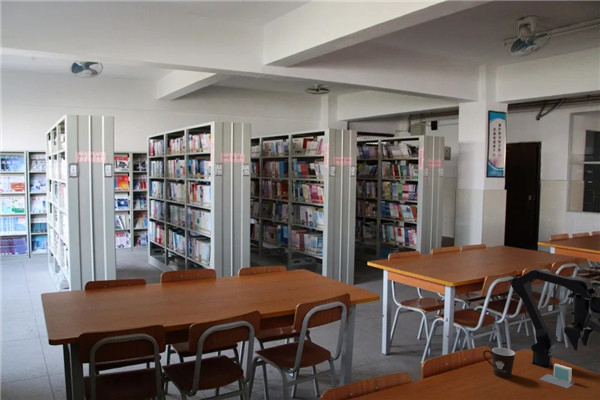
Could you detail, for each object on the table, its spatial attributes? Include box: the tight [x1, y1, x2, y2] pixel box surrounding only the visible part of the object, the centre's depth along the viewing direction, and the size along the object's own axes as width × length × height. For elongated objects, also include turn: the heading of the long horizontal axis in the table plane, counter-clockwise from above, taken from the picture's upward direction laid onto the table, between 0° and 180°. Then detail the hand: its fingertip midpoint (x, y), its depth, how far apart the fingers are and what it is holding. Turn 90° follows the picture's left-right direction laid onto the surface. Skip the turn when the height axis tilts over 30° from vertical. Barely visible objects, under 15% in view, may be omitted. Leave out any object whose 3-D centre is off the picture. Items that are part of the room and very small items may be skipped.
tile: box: [553, 363, 573, 383], centre depth 188 cm, size 6×2×6 cm, turn 41°
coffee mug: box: [482, 347, 516, 379], centre depth 193 cm, size 12×9×10 cm
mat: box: [539, 373, 576, 389], centre depth 187 cm, size 10×8×1 cm
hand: (580, 348), depth 192 cm, fingers open, 9 cm apart
